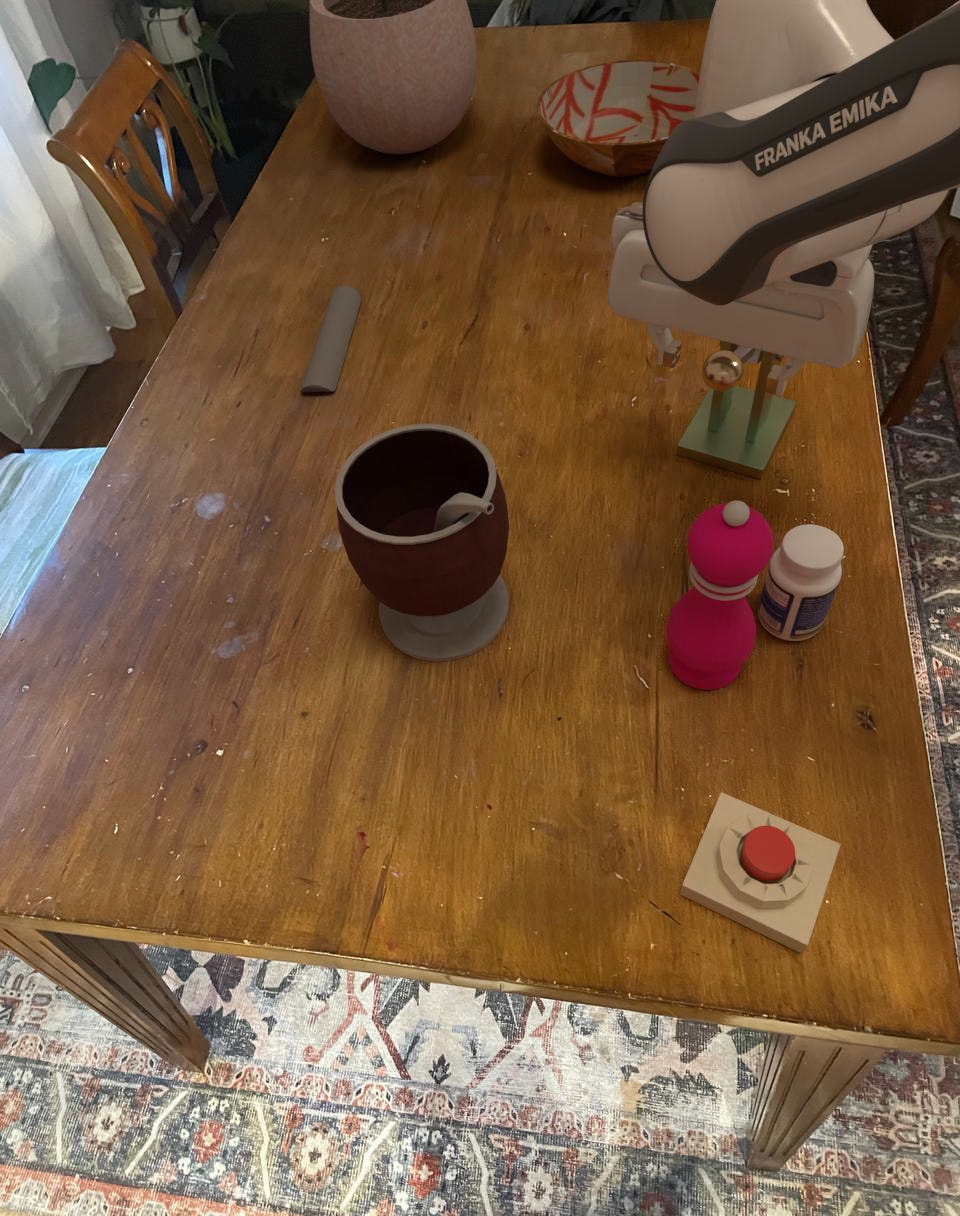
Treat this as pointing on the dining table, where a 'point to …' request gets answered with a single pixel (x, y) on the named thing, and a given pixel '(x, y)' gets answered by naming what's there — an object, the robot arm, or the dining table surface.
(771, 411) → the bracket
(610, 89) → the bowl
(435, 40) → the plant pot
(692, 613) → the pepper mill
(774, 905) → the box
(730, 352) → the lever
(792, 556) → the pill bottle
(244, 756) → the dining table surface
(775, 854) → the button
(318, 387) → the gray half cylinder
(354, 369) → the dining table surface
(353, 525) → the mate gourd
